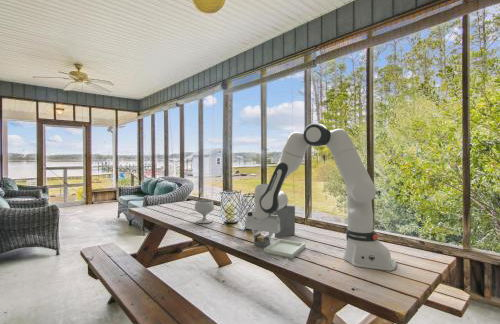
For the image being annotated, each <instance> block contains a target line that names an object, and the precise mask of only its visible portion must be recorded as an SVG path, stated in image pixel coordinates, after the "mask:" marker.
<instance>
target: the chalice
mask: <svg viewBox="0 0 500 324" xmlns="http://www.w3.org/2000/svg"><path fill="white" fill-rule="evenodd" d="M214 205H215V204H214V201H213V200H209V199H201V200H196V202H195V204H194V210H195V211H196V212H197V213H199V214H200V215H201V216H202V218H200V219H197V220H195V223H198V224H210V223H212V222H213V220H212V219H209V218H207V217H206V216H207V215H208V214H210V213H211V212H213V211H214V210H215V206H214Z"/></svg>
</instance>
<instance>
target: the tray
mask: <svg viewBox="0 0 500 324" xmlns="http://www.w3.org/2000/svg"><path fill="white" fill-rule="evenodd" d="M305 249H306V242H299V241H295V240H289V239H283V238H277V240H275V241H274V242H271V243H270V244H269V245H267V246H266V247H263V253H265V254H270V255H274V256H278V257H283V258H287V260H293V259H294V258H295V257H297V255H300V253H301V252H302V251H303V250H305Z"/></svg>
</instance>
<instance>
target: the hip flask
mask: <svg viewBox="0 0 500 324" xmlns="http://www.w3.org/2000/svg"><path fill="white" fill-rule="evenodd" d="M274 215H277V216H278V217H279V218H280V232H279V233H274V238H276V239H280V238H282V237H288V236H294V235H296V233H295V232H296V226H295V225H296V205H288V204H287V205H286V206H285V207H283V208H281V209H279V210H277V211H275V212H274ZM278 217H277V218H278Z"/></svg>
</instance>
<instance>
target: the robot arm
mask: <svg viewBox="0 0 500 324" xmlns="http://www.w3.org/2000/svg"><path fill="white" fill-rule="evenodd" d="M288 135H289V136H288V137H287V139H286V140H285V143H284V146H283V148H282V151H281V154H280V156H279V160H278V162H277V164H276V167H275V169H274V171H273V173H272V175H271V178H270V180H269V182H268V183H262V184H257V185H256V186H255V189H254V196H253V198H254V199H253V200H254V207H253V209H252V210H249V211H246V212H245V215H246V217H245V219H244V228H245V229H247V230H251V232H252V234H253V236H254V235H256V234H257V233H256V231H259V232H264V233H268V235H269V234H270V235H269V236H268V237H267V240H270V241H271V240H272V236H273V234H275V233H279V232H280V218H279V217H278V216H277V215H275V211H277V210H279V209H281V208H283V207H285V206H286V205H287V206H288V201H289V198H288V194H287V193H286V192H284V191H283V190H282V187H283V184H284V183H285V180H286V179H287V178H288V177H289V176H290V175H291V174H292V173H294V172H295V171H297V170H298V169H299V167H300V166H301V164H302V162H303V159H304V158H305V154H306V151H307V149H308V148H309V147H310V146H311V147H321V146H326V147H327V148H328V149H329V151H330V154H331V156H332V158H333V161H334V163H335V165H336V168H337V169H338V171H339V174H340V175H341V178H342V180H343V182H344V184H345V186H346V190H347V191H346V194H347V195H346V197H347V198H346V199H347V200H346V201H347V227H346V231H345V234H346V235H345V238H346V245H345V246H346V247H345V252H344V255H343V259H344V261H346V262H347V263H350V264H351V265H353V266H354V267H358V268H366V269H372V270H373V269H374V270H380V271H381V270H382V271H387V272H388V271H389V272H390V271H395V269H396V268H397V261H396V260H395V259H393V258H392V257H391V251H390V249H389V248H388V247H387V246H385V245H384V244H383V243H381V242H380V240H379V239H378V238H379V237H378V232H377V231H376V232H375V231H374V212H373V202H372V201H373V199H374V198H375V196H376V193H377V191H376V190H377V189H376V186H375V184H374V182H373V180H372V178H371V176H370V174H369V173H368V170H367V168H366V167H365V165H364V163H363V161H362V159H361V157H360V155H359V152H358V150H357V148H356V146H355V144H354V142H353V139H352V138H351V137H350V135H349V133H348V132H347V131H346V130H345V129H343V128H336V129H333V130H329V129H328V128H327V127H326V126H325V125H324V124H321V123H319V122H318V123H316V122H315V123H314V122H313V123H310V124H308V125H307V126H306V127H305V128H304V131H303V132H299V131H294V132H293V131H292V132H291V133H290V134H288ZM277 217H278V218H277Z"/></svg>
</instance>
